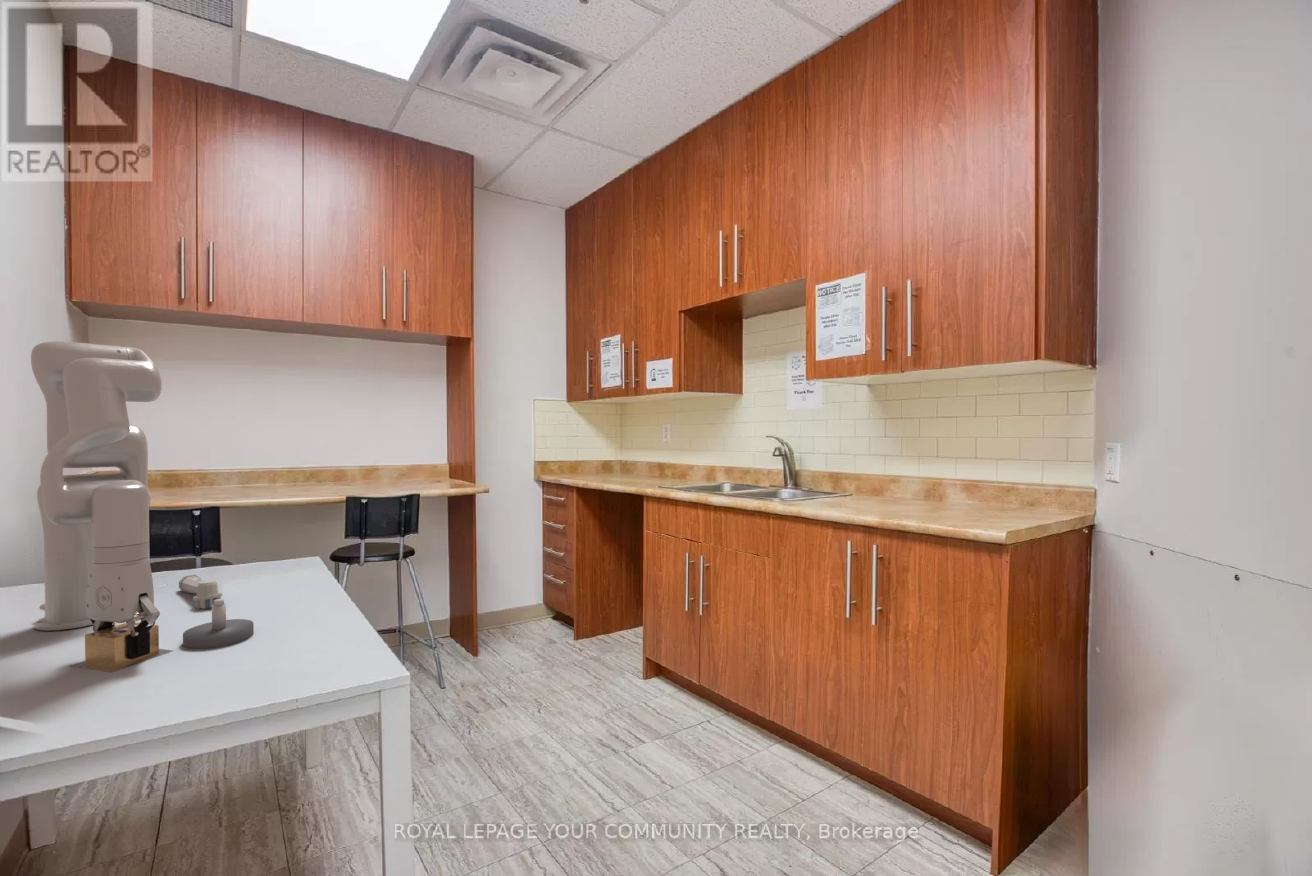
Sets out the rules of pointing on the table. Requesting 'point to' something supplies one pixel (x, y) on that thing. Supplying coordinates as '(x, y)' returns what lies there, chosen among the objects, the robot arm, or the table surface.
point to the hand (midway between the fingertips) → (122, 653)
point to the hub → (218, 630)
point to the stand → (111, 669)
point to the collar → (114, 646)
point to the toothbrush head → (200, 590)
